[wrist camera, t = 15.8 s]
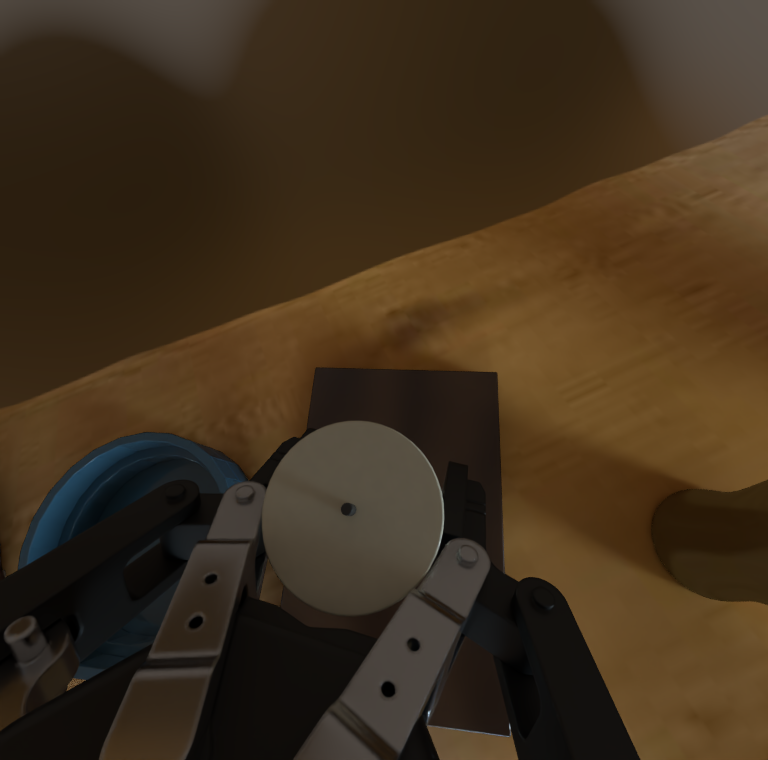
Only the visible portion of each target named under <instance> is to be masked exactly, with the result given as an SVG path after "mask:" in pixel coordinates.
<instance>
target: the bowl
mask: <svg viewBox="0 0 768 760" xmlns="http://www.w3.org/2000/svg"><path fill="white" fill-rule="evenodd" d="M175 480H190V481H193V482H195V483H196V484H197V485H198V486H199V491H200V493H213V494H220V493H225V491H226V490H227V489H228V488H229V487H231V486H232V485H234V484H237V483H239V482H244V481H249V480H248V478H247V477H246V475H245V474H244V473H243V471H242V470H241V468H240V467H239V466H238V464H236V463H235V462H234V461H233V460H231V459H230V458H229V457H227V456H226V455H225V454H224V453H222V452H221V451H218V450H215V449H213V448H210V447H207V446H205V445H202V444H199V443H196V442H193V441H191V440H188V439H185V438H182V437H179V436H177V435H174V434H170V433H155V432H143V433H139V434H134V435H130V436H125V437H120V438H118V439H116V440H114V441H111V442H109V443H107V444H105V445H103V446H101V447H99V448H97V449H95V450H93V451H92V452H90V453H89V454H88V455H86V456H85V457H84V458H82V459H81V460H80V461H79V462H77V463H76V464H75V465H73V466H72V467H71V468H70V469H69V470H68V471H67V472H66V473H65V474H64V476H63V477H62V478H61V479H60V480H59V481H58V482H57V483H56V485H55V486H54V487H53V488H52V489H51V490H50V492H49V493H48V494H47V496H46V498H45V499H44V501H43V503H42V504H41V506H40V507H39V509H38V511H37V512H36V514H35V516H34V517H33V520H32V522H31V524H30V527H29V530H28V532H27V535H26V538H25V540H24V543H23V546H22V548H21V552H20V558H19V564H18V570H19V569H21V568H23V567H24V566H26V565H28V564H29V563H31V562H33V561H35V560H36V559H38V558H40V557H41V556H43V555H45V554H46V553H48V552H50V551H52V550H53V549H55V548H57V547H58V546H60V545H62V544H63V543H65V542H67V541H68V540H70V539H72V538H74V537H75V536H77V535H79V534H80V533H82V532H84V531H85V530H87V529H89V528H90V527H92V526H94V525H96V524H97V523H99V522H101V521H102V520H104V519H106V518H107V517H109V516H111V515H113V514H114V513H116V512H118V511H119V510H121V509H123V508H124V507H126V506H128V505H129V504H131V503H133V502H135V501H136V500H138V499H140V498H141V497H143V496H145V495H146V494H148V493H150V492H151V491H153V490H155V489H157V488H158V487H160V486H162V485H164V484H165V483H168V482H171V481H175ZM158 543H160V540H159V539H157V540H156V541H154V542H153V543H152V544H150V545H149V546H147V547H146V548H144V549H143V550H142V551H140V552H139V553H137V554H136V555H135V556H133V557H132V558H131V559H130V560H129V561H128V562H127V564H126V566H128V565H129V564H130V563H132V562H133V561H135V560H136V559H137V558H139V557H140V556H142V555H143V554H144V553H146V552H147V551H149V550H150V549H151V548H153V547H154V546H155V545H157V544H158ZM126 566H125V567H126ZM179 582H180V579H179V580H178V581H177V582H176V583H175V584H173V585H172V586H171V587H170V588H169V589H167V590H166V591H165V592H164V593H163V594H162V595H160V596H159V597H158V598H157V599H156V600H154V601H153V602H152V603H151V604H150V605H148V606H147V607H146V608H145V609H144V610H142V611H141V612H140V613H139V614H138V615H137V616H135V617H134V618H133V619H132V620H131V621H129V622H128V623H127V624H126V625H125V626H123V627H122V628H121V629H120V630H119V631H117V632H116V633H115V634H114V635H113V636H111V637H110V638H109V639H108V640H107V641H106V642H104V643H103V644H102V645H101V646H100V647H98V648H97V649H96V650H95V651H94V652H92V653H91V654H90V655H89V656H88V657H86V658H85V659H84V660H83V661H82V662H81V663H80V664H79V667H78V670H77V672H76V674H75V676H74V677H73V678H76V679H83V680H88V679H90V678H91V677H93V676H95V675H97V674H99V673H100V672H102V671H104V670H106V669H108V668H109V667H111V666H113V665H115V664H116V663H118V662H120V661H122V660H124V659H125V658H127V657H129V656H131V655H133V654H134V653H136V652H138V651H140V650H141V649H143V648H145V647H147V646H149V645H150V644H152V643H154V641H155V638H156V636H157V634H158V631H159V629H160V626H161V624H162V622H163V619H164V617H165V615H166V612H167V610H168V608H169V605H170V603H171V600H172V598H173V596H174V593H175V591H176V589H177V586H178V584H179Z"/></svg>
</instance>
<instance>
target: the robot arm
mask: <svg viewBox="0 0 768 760" xmlns="http://www.w3.org/2000/svg"><path fill="white" fill-rule="evenodd" d="M316 430H317V429H313V428H308V429H307V431H306V432H305V433H304V434H303V435H302V437H301V438H297V437H293V438H291V439H289V440H287V441H285V442H283V443H282V444H281V445H280V447H279V448H278V449H277V450H276V452H274V453H273V454H272V456H271V457H270V459H268V460H267V461H266V462H265V464H264V465H263V466H262V467H261V468H260V469H259V470H258V472H257V473H256V474H255V475H254V476H253V477H252V478H251V480H250V481H244V482H239V483H237V484H234V485H232V486H231V487H229V488H228V489H227V490H226V491H225V493H220V494H213V493H200V491H199V486H198V485H197V484H196V483H195V482H193V481H190V480H175V481H171V482H168V483H165V484H164V485H162V486H160V487H158V488H157V489H155V490H153V491H151V492H150V493H148V494H146V495H145V496H143V497H141V498H140V499H138V500H136V501H135V502H133V503H131V504H129V505H128V506H126V507H124V508H123V509H121V510H119V511H118V512H116V513H114V514H113V515H111V516H109V517H107V518H106V519H104V520H102V521H101V522H99V523H97V524H96V525H94V526H92V527H90V528H89V529H87V530H85V531H84V532H82V533H80V534H79V535H77V536H75V537H74V538H72V539H70V540H68V541H67V542H65V543H63V544H62V545H60V546H58V547H57V548H55V549H53V550H52V551H50V552H48V553H46V554H45V555H43V556H41V557H40V558H38V559H36V560H35V561H33V562H31V563H29V564H28V565H26V566H24V567H23V568H21V569H19V570H18V571H16V572H14V573H13V574H11V575H9V576H7V577H6V578H4V579H2V580H1V581H0V760H440V759H439V757H438V754H437V752H436V749H435V747H434V744H433V742H432V739H431V736H430V734H429V731H428V729H427V726H428V723H429V721H430V719H431V717H432V714H433V712H434V710H435V707H436V705H437V702H438V700H439V697H440V695H441V692H442V690H443V687H444V685H445V682H446V680H447V678H448V675H449V673H450V671H451V669H452V667H453V664H454V662H455V660H456V658H457V655H458V653H459V651H460V649H461V646H462V644H463V642H464V640H465V638H466V637H468V638H469V639H471V640H472V641H474V642H475V643H477V644H478V645H480V646H481V647H482V648H484V649H485V650H487V651H488V652H490V653H491V654H493V658H494V663H495V667H496V671H497V675H498V679H499V683H500V687H501V691H502V695H503V699H504V703H505V707H506V711H507V715H508V719H509V723H510V727H511V731H512V735H513V740H514V744H515V748H516V752H517V756H518V760H640V758H639V756H638V754H637V751H636V749H635V747H634V745H633V743H632V741H631V739H630V736H629V734H628V732H627V730H626V728H625V726H624V724H623V721H622V719H621V717H620V715H619V713H618V711H617V708H616V706H615V704H614V702H613V700H612V698H611V696H610V693H609V691H608V689H607V687H606V685H605V683H604V680H603V678H602V676H601V674H600V672H599V670H598V668H597V665H596V663H595V661H594V659H593V657H592V655H591V653H590V650H589V648H588V646H587V644H586V642H585V640H584V637H583V635H582V633H581V631H580V629H579V627H578V625H577V622H576V620H575V618H574V616H573V614H572V612H571V609H570V607H569V605H568V603H567V601H566V599H565V597H564V596H563V595H562V593H561V592H560V591H559V590H558V589H557V588H556V587H555V586H553V585H552V584H550V583H549V582H547V581H545V580H542V579H539V578H535V577H528V578H524V579H522V580H521V581H520V582H518V581H516V580H515V579H513V578H511V577H509V576H508V575H506V574H504V573H503V572H501V571H500V570H499V569H498V568H497V567H496V566H495V565H494V564H493V563H492V562H491V560H490V558H489V555H488V553H487V551H486V492H485V491H484V489H483V487H482V485H481V483H480V482H477V481H473V480H469V479H468V465H464V464H460V463H456V462H452V461H449V463H448V467H447V472H446V476H445V481H444V485H443V489H442V497H443V503H444V527H443V534H442V539H441V543H440V546H439V549H438V552H437V555H436V557H435V559H434V561H433V563H432V565H431V568H430V569H429V572H428V574H427V575H426V577H425V578H424V580H423V581H422V583H421V584H420V586H419V587H418V589H415V588H413V589H412V590H411V591H410V592H409V593H408V595H407V596H406V597H405V599H404V601H403V602H402V604H401V605H400V607H399V608H398V610H397V611H396V613H395V614H394V616H393V617H392V619H391V620H390V622H389V623H388V625H387V626H386V628H385V629H384V631H383V632H382V634H381V635H380V637H379V638H378V639H377V638H374V637H371V636H368V635H365V634H362V633H359V632H355V631H352V630H349V629H341V628H319V627H309V626H306V625H305V624H303V623H302V622H300V621H299V620H298V619H296V618H295V617H293V616H292V615H290V614H289V613H288V612H286V611H285V610H283V609H282V608H280V607H279V606H276V605H273V604H270V603H267V602H264V601H261V600H259V597H260V593H261V588H262V583H263V578H264V573H265V568H266V564H267V559H268V556H267V553H266V549H265V545H264V542H263V534H262V509H263V502H264V498H265V494H266V490H267V487H268V485H269V482H270V479H271V477H272V475H273V473H274V471H275V469H276V468H277V466H278V465H279V463H280V462H281V460H282V459H283V457H284V456H285V455H286V454H287V453H288V452H289V450H290V449H291V448H292V447H293V446H295V445H296V444H297V443H298V442H299V441H300V440H302V439H303V438H304V437H306V436H307V435H309V434H310V433H312V432H314V431H316ZM157 539H159V540H160V543H158V544H157V545H155V546H154V547H153V548H151V549H150V550H149V551H147V552H146V553H144V554H143V555H142V556H140V557H139V558H137V559H136V560H135V561H133V562H132V563H130V564H129V565H128V566H126V564H127V562H128V561H129V560H130V559H131V558H132V557H133V556H135V555H136V554H137V553H139V552H140V551H142V550H143V549H144V548H146V547H147V546H149V545H150V544H152V543H153V542H154V541H156V540H157ZM125 566H126V567H125ZM179 579H180V582H179V584H178V586H177V589H176V591H175V593H174V596H173V598H172V600H171V603H170V605H169V608H168V610H167V612H166V615H165V617H164V619H163V622H162V624H161V626H160V629H159V631H158V634H157V636H156V638H155V641H154V643H152V644H150V645H149V646H147V647H145V648H143V649H141V650H140V651H138V652H136V653H134V654H133V655H131V656H129V657H127V658H125V659H124V660H122V661H120V662H118V663H116V664H115V665H113V666H111V667H109V668H108V669H106V670H104V671H102V672H100V673H99V674H97V675H95V676H93V677H91V678H90V679H88V680H86V681H84V682H82V683H81V684H79V685H77V686H75V687H74V688H72V689H70V690H68V691H67V687H68V684H69V683H70V681H71V680H72V679H73V677H74V676H75V674H76V672H77V670H78V667H79V664H80V663H81V662H82V661H83V660H84V659H85V658H86V657H88V656H89V655H90V654H91V653H92V652H94V651H95V650H96V649H97V648H98V647H100V646H101V645H102V644H103V643H104V642H106V641H107V640H108V639H109V638H110V637H111V636H113V635H114V634H115V633H116V632H117V631H119V630H120V629H121V628H122V627H123V626H125V625H126V624H127V623H128V622H129V621H131V620H132V619H133V618H134V617H135V616H137V615H138V614H139V613H140V612H141V611H142V610H144V609H145V608H146V607H147V606H148V605H150V604H151V603H152V602H153V601H154V600H156V599H157V598H158V597H159V596H160V595H162V594H163V593H164V592H165V591H166V590H167V589H169V588H170V587H171V586H172V585H173V584H175V583H176V582H177V581H178V580H179Z"/></svg>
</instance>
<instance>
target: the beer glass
mask: <svg viewBox="0 0 768 760" xmlns="http://www.w3.org/2000/svg"><path fill="white" fill-rule="evenodd" d="M651 531H652V540H653V544H654V547H655V550H656V553H657V555H658V557H659V559H660V561H661V562H662V564H663V565H664V567H665V568H666V569H667V571H668V572H669V573H670V574H671V575H672V576H673V577H674V578H675V579H676V580H677V581H678V582H679V583H680V584H682V585H683V586H684V587H686V588H687V589H689V590H691V591H692V592H694V593H696V594H698V595H700V596H703V597H706V598H709V599H713V600H718V601H726V602H749V601H751V602H758V603H762V604H765V605H768V480H765V481H763V482H760V483H758V484H755V485H752V486H750V487H747V488H744V489H741V490H738V491H733V492H721V491H714V490H707V489H686V490H681V491H678V492H675V493H673V494H671V495H669V496H668V497H666V498H665V499H664V500H663V501H662V502H661V503H660V504H659V506H658V507H657V509H656V511H655V513H654V516H653V520H652V527H651Z"/></svg>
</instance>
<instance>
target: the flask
mask: <svg viewBox="0 0 768 760" xmlns="http://www.w3.org/2000/svg"><path fill="white" fill-rule="evenodd" d="M0 545H1V544H0ZM0 553H1V550H0ZM0 557H1V556H0ZM0 562H1V561H0ZM1 569H2V568H1V563H0V581H1V580H2V579H4V578H6V577H5V575H6V573H5V570H3V571H2V570H1Z"/></svg>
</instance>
